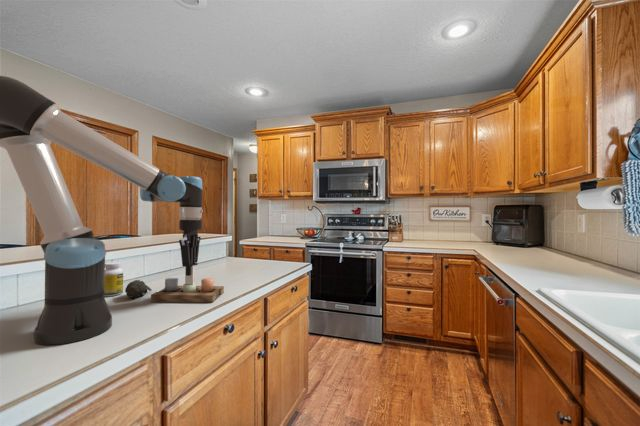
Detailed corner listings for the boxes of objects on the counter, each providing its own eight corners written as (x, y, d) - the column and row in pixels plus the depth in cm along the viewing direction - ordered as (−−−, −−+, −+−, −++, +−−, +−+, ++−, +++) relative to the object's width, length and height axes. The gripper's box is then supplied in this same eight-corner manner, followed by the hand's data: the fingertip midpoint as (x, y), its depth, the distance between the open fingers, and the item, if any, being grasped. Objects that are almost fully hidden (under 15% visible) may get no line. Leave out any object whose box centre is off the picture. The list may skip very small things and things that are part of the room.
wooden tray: (223, 292, 109) (223, 286, 109) (212, 302, 97) (212, 295, 97) (168, 292, 109) (168, 285, 109) (150, 302, 97) (150, 294, 97)
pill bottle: (114, 297, 101) (114, 265, 101) (96, 297, 101) (97, 264, 101) (127, 292, 107) (127, 261, 107) (110, 291, 108) (110, 261, 107)
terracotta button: (211, 292, 101) (211, 281, 101) (199, 292, 101) (199, 280, 101) (215, 288, 105) (215, 278, 105) (203, 288, 105) (204, 278, 105)
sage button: (192, 297, 101) (193, 285, 101) (180, 297, 101) (181, 285, 101) (197, 293, 105) (197, 283, 105) (186, 293, 105) (186, 282, 105)
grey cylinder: (174, 291, 101) (174, 280, 101) (162, 291, 101) (162, 280, 101) (180, 288, 105) (180, 277, 105) (168, 288, 105) (168, 277, 105)
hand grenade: (148, 292, 99) (156, 286, 110) (132, 278, 98) (141, 274, 109) (134, 305, 97) (143, 298, 109) (117, 292, 96) (128, 286, 108)
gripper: (193, 219, 96) (192, 288, 97) (207, 218, 109) (206, 279, 110) (171, 219, 96) (170, 288, 96) (188, 218, 109) (187, 279, 109)
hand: (189, 283), depth 103 cm, fingers closed
